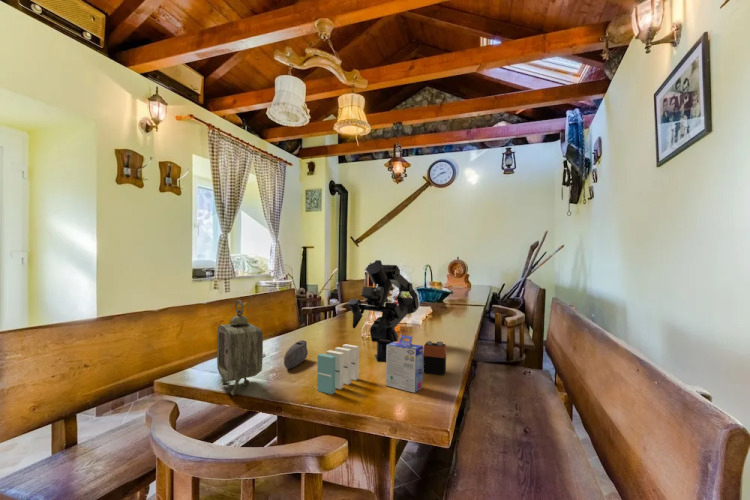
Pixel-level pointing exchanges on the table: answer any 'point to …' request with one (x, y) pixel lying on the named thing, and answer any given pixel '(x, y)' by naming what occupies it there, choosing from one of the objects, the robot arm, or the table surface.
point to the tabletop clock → (239, 350)
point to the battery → (435, 358)
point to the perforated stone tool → (295, 354)
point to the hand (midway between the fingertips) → (365, 329)
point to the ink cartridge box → (404, 365)
